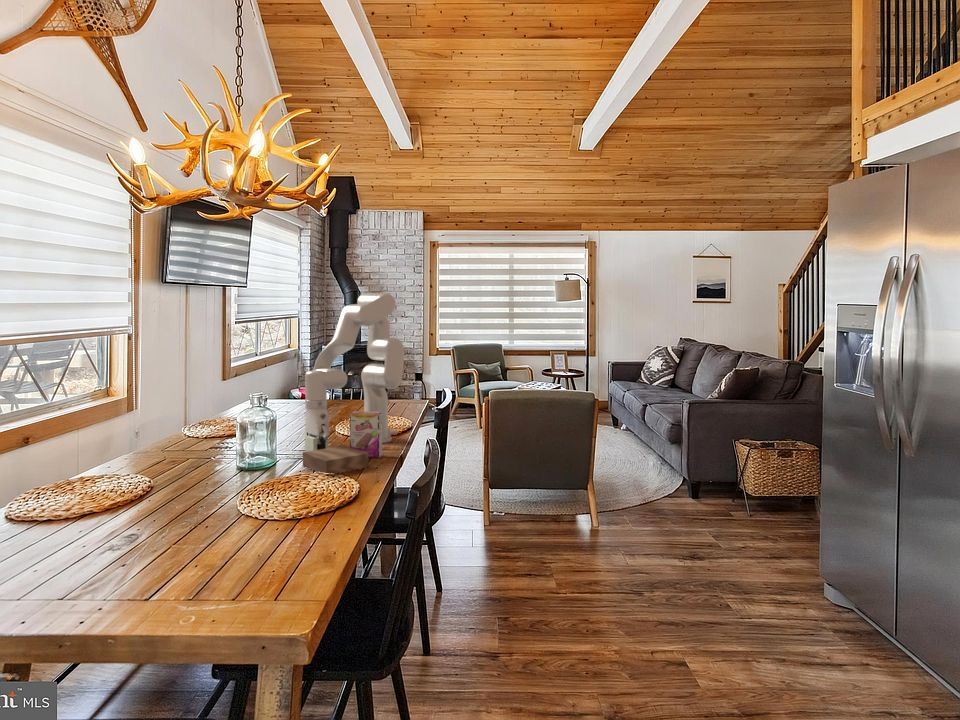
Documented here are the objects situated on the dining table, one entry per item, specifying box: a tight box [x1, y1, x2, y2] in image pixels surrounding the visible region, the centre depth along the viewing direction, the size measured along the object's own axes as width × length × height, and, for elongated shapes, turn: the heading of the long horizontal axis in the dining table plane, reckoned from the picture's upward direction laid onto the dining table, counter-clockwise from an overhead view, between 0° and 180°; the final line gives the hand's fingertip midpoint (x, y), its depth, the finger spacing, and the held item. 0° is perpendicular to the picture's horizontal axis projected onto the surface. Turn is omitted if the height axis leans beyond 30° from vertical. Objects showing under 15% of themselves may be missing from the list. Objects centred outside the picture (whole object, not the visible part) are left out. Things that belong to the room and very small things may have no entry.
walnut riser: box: [302, 444, 369, 475], centre depth 216 cm, size 16×16×5 cm
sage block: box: [304, 433, 329, 452], centre depth 233 cm, size 6×6×7 cm
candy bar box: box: [349, 410, 383, 459], centre depth 231 cm, size 11×5×16 cm, turn 84°
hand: (316, 452), depth 233 cm, fingers closed on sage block, 6 cm apart
